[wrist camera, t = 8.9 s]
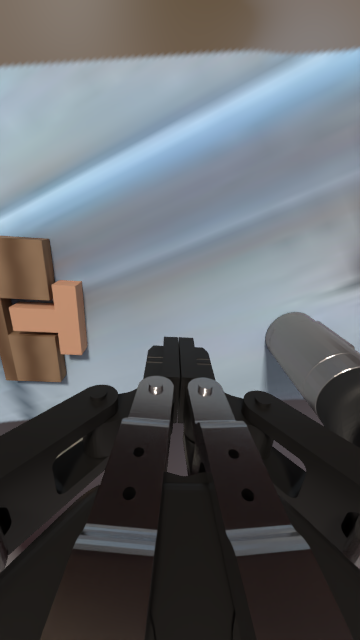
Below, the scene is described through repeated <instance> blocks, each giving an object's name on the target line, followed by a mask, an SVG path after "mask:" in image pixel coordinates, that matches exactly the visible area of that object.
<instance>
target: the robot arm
mask: <svg viewBox="0 0 360 640" xmlns="http://www.w3.org/2000/svg"><path fill="white" fill-rule="evenodd" d="M266 345H267V347H268V349H269V350H270V352H271V353H272V355H273V356H274V357H275V359H276V360H277V362H278V363H279V364H280V366H281V367H282V369H283V370H284V371H285V373H286V374H287V375H288V377H289V378H290V380H291V381H292V382H293V384H294V385H295V386H296V388H297V389H298V391H299V392H300V393H301V395H302V396H303V397H304V399H305V400H306V402H307V403H308V404H309V406H310V407H311V408H312V410H313V411H314V412H315V414H316V415H317V416H318V418H319V419H320V420H321V422H322V423H323V425H324V426H322V425H320V424H319V423H317V422H316V421H314V420H312V419H311V418H309V417H307V416H306V415H304V414H302V413H301V412H299V411H297V410H296V409H294V408H292V407H291V406H289V405H287V404H286V403H284V402H283V401H281V400H279V399H278V398H276V397H274V396H273V395H271V394H269V393H266V392H263V391H250V392H248V393H246V394H245V396H244V399H242V398H238V397H235V396H231V395H229V394H226V393H225V392H224V391H223V388H222V386H221V385H220V384H219V383H218V382H216V381H215V377H214V373H213V369H212V366H211V362H210V358H209V354H208V352H207V351H206V350H205V349H204V348H198V347H194V341H193V338H182V337H179V341H178V337H164V346H152V347H151V348H150V349H149V350H148V355H147V361H146V367H145V372H144V378H143V380H142V381H141V382H140V383H139V385H138V388H137V389H135V390H133V391H131V392H127V393H122V394H118V392H117V390H116V389H115V388H113V387H111V386H108V385H96V386H92V387H89V388H87V389H85V390H83V391H82V392H80V393H78V394H76V395H74V396H73V397H71V398H69V399H67V400H65V401H63V402H62V403H60V404H58V405H56V406H54V407H52V408H51V409H49V410H47V411H45V412H43V413H42V414H40V415H38V416H36V417H34V418H32V419H31V420H29V421H27V422H25V423H23V424H21V425H20V426H18V427H16V428H14V429H12V430H11V431H9V432H7V433H5V434H3V435H2V436H0V640H360V353H359V352H357V351H356V350H355V348H354V346H353V345H352V344H350V343H349V342H347V341H346V340H345V339H343V338H342V337H340V336H339V335H338V334H336V333H335V332H333V331H332V330H331V329H329V328H328V327H326V326H325V325H323V324H322V323H321V322H319V321H315V320H314V319H312V318H311V317H309V316H308V315H306V314H304V313H300V312H292V313H287V314H284V315H282V316H280V317H278V318H277V319H276V320H275V321H274V322H273V323H272V324H271V325H270V327H269V328H268V330H267V333H266ZM177 409H178V423H184V432H183V433H184V434H183V443H184V451H185V457H186V465H187V472H188V476H179V475H175V474H172V473H168V472H167V467H168V456H169V447H170V435H171V434H172V429H173V423H176V422H177ZM81 438H83V440H81V441H80V442H78V443H77V444H76V445H74V446H73V447H71V448H70V449H69V450H67V451H66V452H64V453H63V454H62V455H60V456H59V457H57V456H58V455H59V454H60V453H62V452H63V451H64V450H66V449H67V448H69V447H70V446H71V445H73V444H74V443H76V442H77V441H78V440H80V439H81ZM273 440H275V441H276V442H278V443H279V444H280V445H282V446H283V447H285V448H286V449H287V450H288V451H290V452H291V453H292V454H294V455H295V456H296V457H298V458H299V459H300V460H301V461H302V462H303V463H304V465H305V467H306V472H305V471H304V470H303V469H301V468H300V467H299V466H297V465H296V464H294V463H293V462H292V461H291V460H289V459H288V458H287V457H285V456H284V455H283V454H282V453H280V452H279V451H278V450H276V449H275V448H274V447H272V444H273ZM104 470H105V471H104ZM103 471H104V474H103V477H102V480H101V483H100V485H98V486H96V487H94V488H93V489H91V490H90V491H88V492H86V493H85V494H84V495H83V496H81V497H80V498H79V499H78V500H76V502H74V503H73V504H72V505H71V506H70V507H69V508H68V509H67V510H66V511H65V512H64V513H63V514H62V515H61V516H59V517H58V518H57V519H56V520H55V521H54V522H53V523H52V524H51V525H50V526H49V527H48V528H47V529H46V530H45V531H44V532H43V533H42V534H41V535H40V536H38V538H36V539H35V540H34V541H33V542H32V543H31V544H30V545H29V546H28V547H27V548H26V549H25V550H24V551H23V552H22V553H21V554H20V555H19V556H18V557H16V558H15V559H14V560H13V561H12V562H11V563H10V564H9V565H8V566H7V567H6V568H5V566H6V563H7V559H8V555H9V554H10V553H12V551H14V550H15V549H16V548H17V547H18V546H19V545H21V544H22V543H23V542H24V541H25V540H26V539H27V538H28V537H30V535H32V534H33V533H34V532H35V531H36V530H37V529H39V528H40V527H41V526H42V525H43V524H44V523H45V522H47V521H48V520H49V519H50V518H51V517H52V516H53V515H54V514H56V513H57V512H58V511H59V510H60V509H61V508H62V507H63V506H64V505H66V504H67V503H68V502H69V501H70V500H71V499H72V498H74V497H75V496H76V495H77V494H78V493H79V492H80V491H82V490H83V489H84V488H85V487H86V486H87V485H88V484H89V483H90V482H92V481H93V480H94V479H95V478H96V477H97V476H98V475H100V474H101V473H102V472H103Z"/></svg>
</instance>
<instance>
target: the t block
mask: <svg viewBox="0 0 360 640" xmlns="http://www.w3.org/2000/svg"><path fill="white" fill-rule="evenodd" d="M52 292H53V300H54V303H40V302H20V301H19V302H18V303H16V304H14V305H12V306H10V307H9V311H10V316H11V321H12V326H13V331H29V332H52V333H58V337H59V345H60V352H61V354H70V355H82V354H83V352H84V351H85V349H86V348H87V337H86V326H85V314H84V303H83V291H82V281H65V280H59V281H57V282H56V283H54V284H52Z"/></svg>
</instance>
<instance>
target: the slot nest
mask: <svg viewBox="0 0 360 640" xmlns="http://www.w3.org/2000/svg"><path fill="white" fill-rule="evenodd" d="M54 283H55V280H54V272H53V264H52V257H51V249H50V241H49V239H42V238H27V237H11V236H0V356H1V360H2V364H3V368H4V372H5V376H6V380H15V381H44V382H61V381H62V380H63V378H64V377H65V375H66V367H65V359H64V354H61V352H60V345H59V337H58V333H52V332H29V331H13V326H12V321H11V316H10V311H9V307H10V306H12V302H11V299H31V300H51V299H53V292H52V284H54Z"/></svg>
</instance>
